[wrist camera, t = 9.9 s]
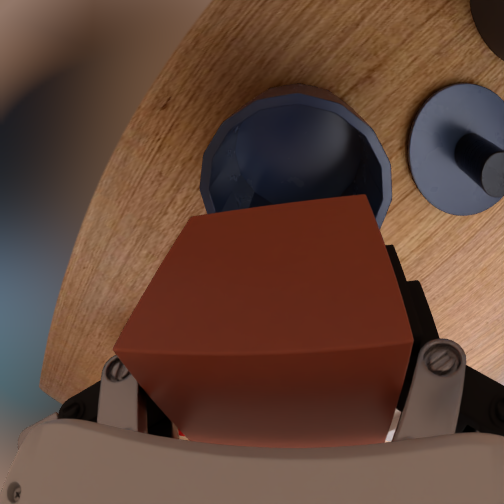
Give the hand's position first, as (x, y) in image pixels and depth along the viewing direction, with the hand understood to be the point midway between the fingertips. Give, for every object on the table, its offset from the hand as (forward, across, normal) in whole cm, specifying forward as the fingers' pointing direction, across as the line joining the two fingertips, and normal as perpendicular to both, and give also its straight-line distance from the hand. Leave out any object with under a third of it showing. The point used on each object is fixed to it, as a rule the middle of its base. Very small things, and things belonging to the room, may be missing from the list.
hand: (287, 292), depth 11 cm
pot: (+17, 0, 0) cm, 17 cm away
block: (+1, 0, 0) cm, 1 cm away
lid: (+16, -15, +1) cm, 22 cm away
